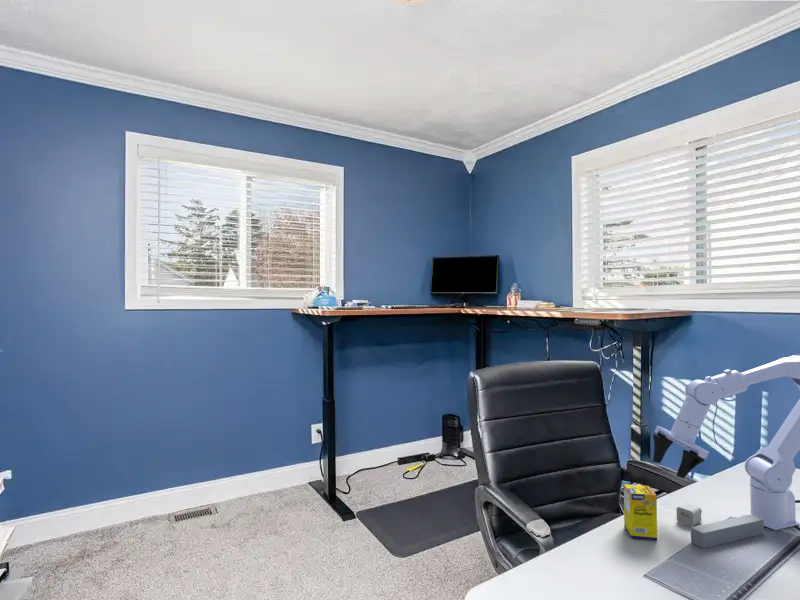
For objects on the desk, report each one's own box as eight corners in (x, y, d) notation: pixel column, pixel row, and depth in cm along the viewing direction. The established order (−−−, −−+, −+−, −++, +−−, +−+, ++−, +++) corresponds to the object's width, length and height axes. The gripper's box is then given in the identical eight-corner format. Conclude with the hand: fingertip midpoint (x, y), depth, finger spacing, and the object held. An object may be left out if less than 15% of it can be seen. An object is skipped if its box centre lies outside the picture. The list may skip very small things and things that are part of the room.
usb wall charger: (676, 521, 118) (676, 506, 118) (689, 514, 122) (688, 499, 122) (693, 527, 115) (693, 511, 115) (705, 520, 119) (705, 504, 119)
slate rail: (750, 528, 114) (750, 514, 114) (763, 534, 111) (763, 519, 111) (691, 542, 108) (690, 527, 108) (703, 548, 105) (702, 533, 105)
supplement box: (658, 541, 108) (657, 495, 109) (630, 539, 110) (630, 493, 110) (649, 529, 114) (648, 485, 114) (623, 527, 115) (623, 483, 116)
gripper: (655, 408, 127) (636, 452, 128) (703, 431, 114) (681, 481, 114) (673, 414, 130) (653, 458, 130) (721, 438, 116) (700, 486, 117)
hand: (667, 469), depth 123 cm, fingers open, 7 cm apart
